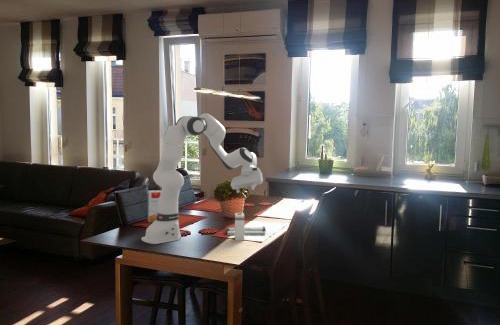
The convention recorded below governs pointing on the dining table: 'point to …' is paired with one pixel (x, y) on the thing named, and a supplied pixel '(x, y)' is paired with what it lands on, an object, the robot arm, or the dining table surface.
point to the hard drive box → (153, 204)
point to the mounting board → (248, 232)
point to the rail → (248, 229)
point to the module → (239, 226)
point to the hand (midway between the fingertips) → (245, 190)
